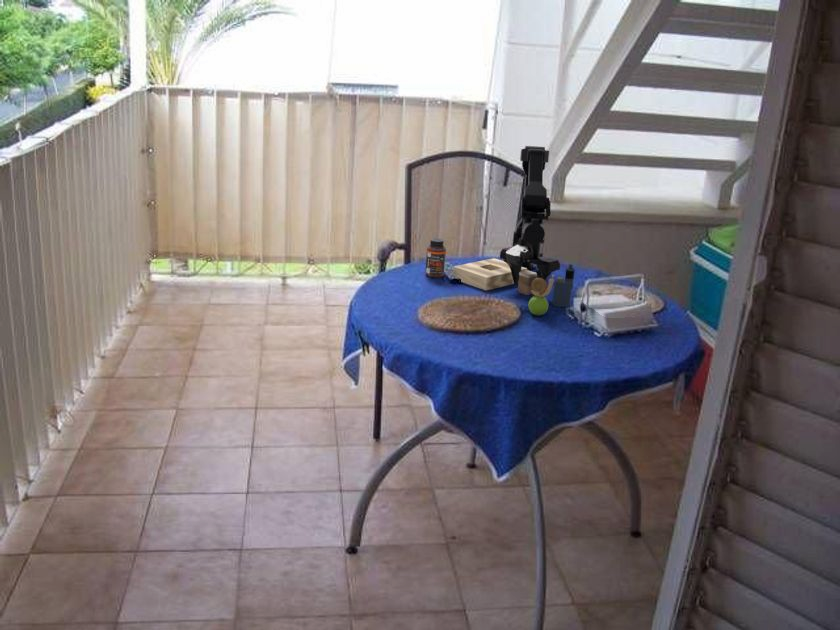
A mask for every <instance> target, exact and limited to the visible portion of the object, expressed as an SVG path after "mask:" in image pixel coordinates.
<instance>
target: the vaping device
mask: <svg viewBox="0 0 840 630" xmlns="http://www.w3.org/2000/svg"><path fill="white" fill-rule="evenodd" d="M573 266H574V264H568V266H567V267H565V273H564V274H565V275H564V276H565V277H563V276H556V277H555V278H556V279H555V280H554V283H553V292H552V306H553V307H557V308H558V307H560V308H561V307H562V308H570V307H571V297H572V290H573V289H574V277H575V269H576V268H575V267H573Z"/></svg>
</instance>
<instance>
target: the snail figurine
mask: <svg viewBox="0 0 840 630" xmlns="http://www.w3.org/2000/svg"><path fill="white" fill-rule="evenodd" d="M551 277H552V278H549V279H548V283H547V280H546V281H545V280H544V279H542V278H536V279H534V280H533V282H532V288H533V290H534V291H533V290H531V292H532V293H533V294H532V295H533V296H532V297H531V298H530V299H529V301H528V305H527V307H528V310H529V312H530V313H531V314H533V315H534V316H543V315H544V314H546V313H547V312H548V310H549V302H548V299H547V298H546V297H547V296H548V295H550V292H551V290H552V288H553V286H554V283H555V279H554V278H555V277H556V275H555V274H552V275H551Z"/></svg>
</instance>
